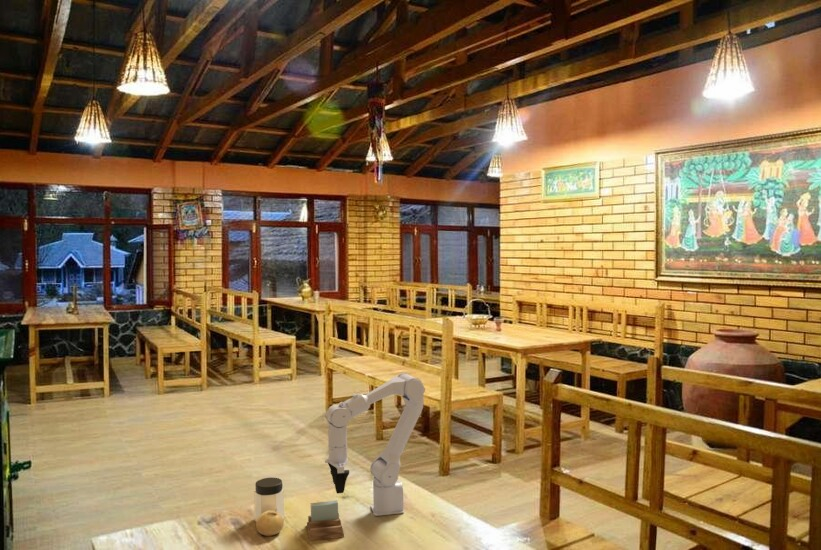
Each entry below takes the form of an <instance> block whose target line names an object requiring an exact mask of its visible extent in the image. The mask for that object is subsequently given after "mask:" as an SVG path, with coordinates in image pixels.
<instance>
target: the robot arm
mask: <svg viewBox="0 0 821 550" xmlns="http://www.w3.org/2000/svg"><path fill="white" fill-rule="evenodd" d="M425 392H426V388H425V386H424V383H423V381H422V380H421V379H419V378H418V377H414V376H412V375H410V374H409V373H407V372H402V373H399V374H397V375H396V376H395V375H394V376H392V377H391V378H390V379H389V380H387V381H386V382H384V383H382V384H381V385H379V386H377V387H376V388H374V389H372V390H371V391H369V392H367V393H366V394H362V393H359V394H357V393H354V394H352V396H351V398H349V399H346V400H344V401H340V402H339V403H338V404H333V405H331V406H329V407H328V409H326V413H325V414H324V416H325V419H326V421H327V422H328V424H327V425H328V428H327V430H328V431H327V433H328V435H327V437H328V438H327V439H328V441H327V445H328V447H327V448H328V458H325V459H324V463H325V464H328V466H329V469H330V475H331V478H332V482H333V485H334V489H335V492H336V494H345V493H344V492H345V487H346V482H347V479H348V476H349V474H350V470H349V469H346V470H345V468H346V467H345V466H346V465H347V463H348V462H349V457H348V431H347V425H348V424H349V422H350V420H351V419H354V418H355V417H358V416H359V415H361V414H363V413H365V412H367V411H368V410H369V408H370V406H371V405H372V404H374V403H376V402H378V401H380V400H382V399H385V398H387V397H389V396H392V395H396V396H401V397H402V399H403V402H404V404H405V406H404V408H403V410H402V412H401V414H400V417H399V419H398V421H397V423H396V425H395V427H394V429H393V431H392V434H391V435H390V438H389V440H388V442H387V445H386V446H385V449H384V450H382V451H381V452H380V453H379V454H378V456H377V457H376V458H375V459H374V460H373V461H372V462H371V464H370V468H369V470H370V474H371V475H372V476H373V480H372V489H373V490H372V491H373V492H372V494H373V495H372V496H373V497H372V498H373V500H372V502H373V504H370V509H371V510H372V513H373V515H374V517H378V516H388V515H389V516H390V515H396V514H397V515H398V514H404V513H405V511H404V486H403V483H402V481H400V480H399V475H400V474H399V473H400V469H401V467H402V466H401V465H402V463H401V457H402V454H403V452H404V449H405V448H406V446H407V443H408V441H409V438H410V437H411V435H412V433H413V430H414V429H415V426H416V424H417V423H418V419H419V418H420V415H421V414H422V411H423V409H424V394H425Z"/></svg>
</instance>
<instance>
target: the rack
mask: <svg viewBox="0 0 821 550" xmlns="http://www.w3.org/2000/svg"><path fill="white" fill-rule="evenodd" d="M306 527H307V528H306V529H307V532H308V533H307V535H308V540H309V541H311V542H312V541H319V540H328V539H329V540H331V539H339V538H344V537H345V532H344V529H343V525H342V520H341V518H340V514H339V512H338V519H334V520H325V521H315V522H311V515H308V516H307V522H306Z"/></svg>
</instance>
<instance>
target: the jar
mask: <svg viewBox="0 0 821 550" xmlns="http://www.w3.org/2000/svg"><path fill="white" fill-rule="evenodd" d="M253 495H254V497H253V498H254V500H253V501H254V502H253V503H254V521H255V522H257V519H258V517H259V516H260V515H261V514H262V513H264V512H265V511H268V510H271V511H275V510H276V509H277V510H276V512H278V513H279V514H280V515H281V516H282V518H283V520H284V519H285V489H284V488H283V480H282V479H281V478H279V477H265V478H261V479H257V481H255V490H254V491H253Z"/></svg>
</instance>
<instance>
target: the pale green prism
mask: <svg viewBox="0 0 821 550" xmlns="http://www.w3.org/2000/svg"><path fill="white" fill-rule="evenodd" d="M338 513H339V502H338V500H329V501H320V502H319V501H318V502H310V516H311V522H315V521H325V520H334V519H338Z"/></svg>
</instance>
